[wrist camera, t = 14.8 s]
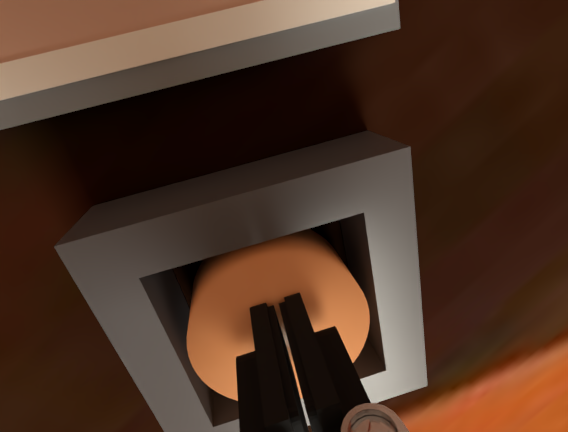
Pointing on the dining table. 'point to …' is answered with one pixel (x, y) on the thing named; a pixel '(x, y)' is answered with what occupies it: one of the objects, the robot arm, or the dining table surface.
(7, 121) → the picture board
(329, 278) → the button
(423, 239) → the dining table surface
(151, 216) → the button housing
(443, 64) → the dining table surface
